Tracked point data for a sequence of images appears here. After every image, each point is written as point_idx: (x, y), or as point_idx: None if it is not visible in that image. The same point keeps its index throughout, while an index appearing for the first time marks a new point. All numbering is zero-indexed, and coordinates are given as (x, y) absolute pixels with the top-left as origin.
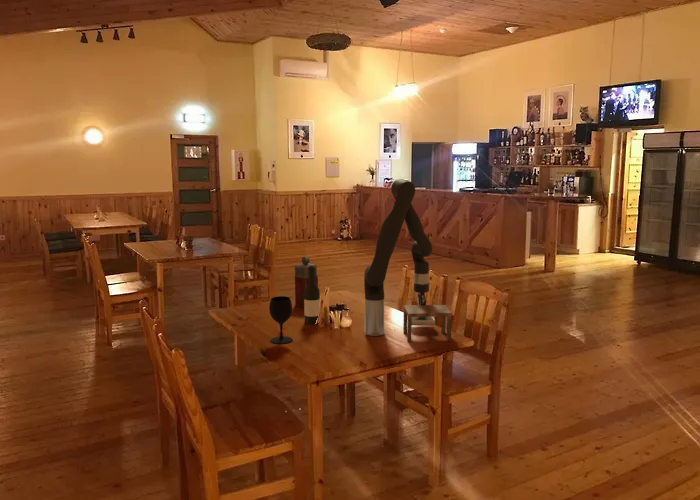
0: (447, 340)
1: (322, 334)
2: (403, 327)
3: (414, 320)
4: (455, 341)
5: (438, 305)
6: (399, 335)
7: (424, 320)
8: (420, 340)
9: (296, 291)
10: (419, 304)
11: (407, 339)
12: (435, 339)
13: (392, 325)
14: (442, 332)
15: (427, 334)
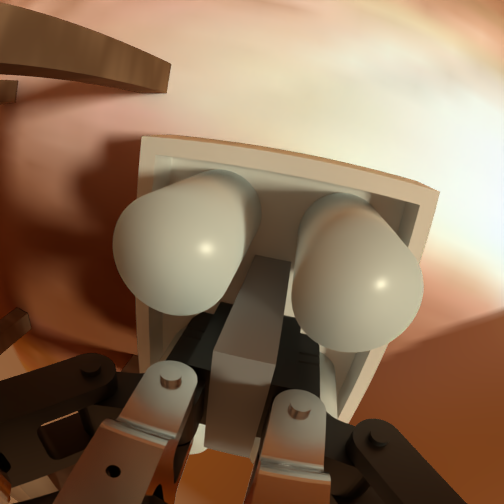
0: (14, 310)
1: None
2: (146, 53)
3: (138, 189)
4: (23, 339)
5: (22, 495)
6: (116, 28)
7: (136, 307)
8: (16, 165)
9: None
10: (105, 435)
11: (5, 81)
12: (30, 262)
13: (419, 34)
14: (132, 359)
15: (106, 253)
